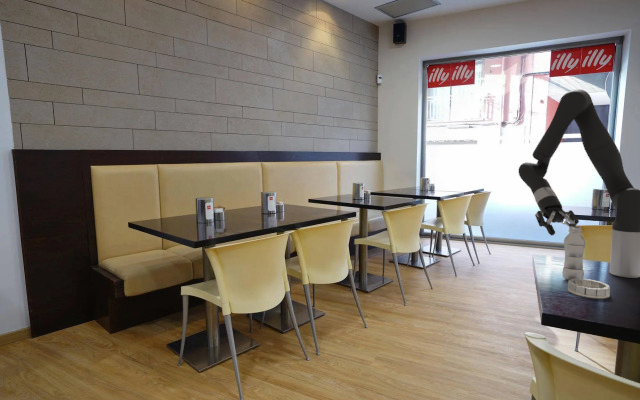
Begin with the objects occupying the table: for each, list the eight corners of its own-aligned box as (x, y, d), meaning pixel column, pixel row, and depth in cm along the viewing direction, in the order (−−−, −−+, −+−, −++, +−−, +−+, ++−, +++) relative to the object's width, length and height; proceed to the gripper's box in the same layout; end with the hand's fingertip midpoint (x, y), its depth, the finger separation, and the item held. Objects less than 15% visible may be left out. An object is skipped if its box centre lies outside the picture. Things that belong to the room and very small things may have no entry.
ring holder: (577, 284, 133) (578, 276, 133) (616, 294, 124) (616, 285, 123) (561, 290, 127) (561, 282, 127) (599, 301, 118) (600, 292, 117)
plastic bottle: (587, 284, 134) (590, 228, 132) (566, 283, 135) (569, 228, 133) (578, 278, 140) (581, 225, 138) (558, 277, 142) (561, 225, 140)
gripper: (533, 195, 149) (550, 228, 139) (569, 194, 149) (588, 228, 139) (525, 206, 155) (541, 240, 145) (560, 206, 155) (577, 239, 145)
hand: (564, 234), depth 142 cm, fingers open, 8 cm apart
